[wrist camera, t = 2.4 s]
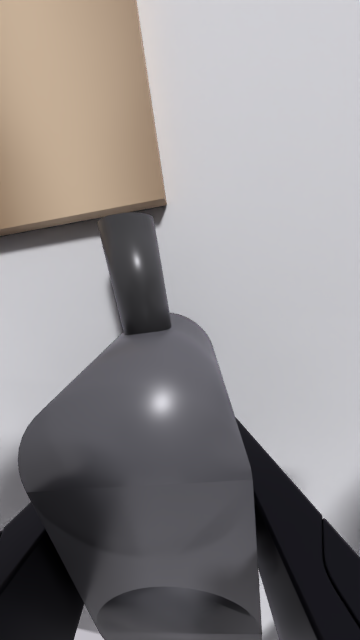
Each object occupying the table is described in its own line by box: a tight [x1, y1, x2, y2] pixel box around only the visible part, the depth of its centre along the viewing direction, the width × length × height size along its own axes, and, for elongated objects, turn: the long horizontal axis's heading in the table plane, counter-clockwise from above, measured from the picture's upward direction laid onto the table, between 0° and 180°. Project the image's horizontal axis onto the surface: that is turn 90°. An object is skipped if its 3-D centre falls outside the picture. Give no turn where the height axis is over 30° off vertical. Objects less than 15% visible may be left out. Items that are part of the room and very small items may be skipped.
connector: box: [18, 212, 262, 640], centre depth 6 cm, size 4×15×4 cm, turn 8°
